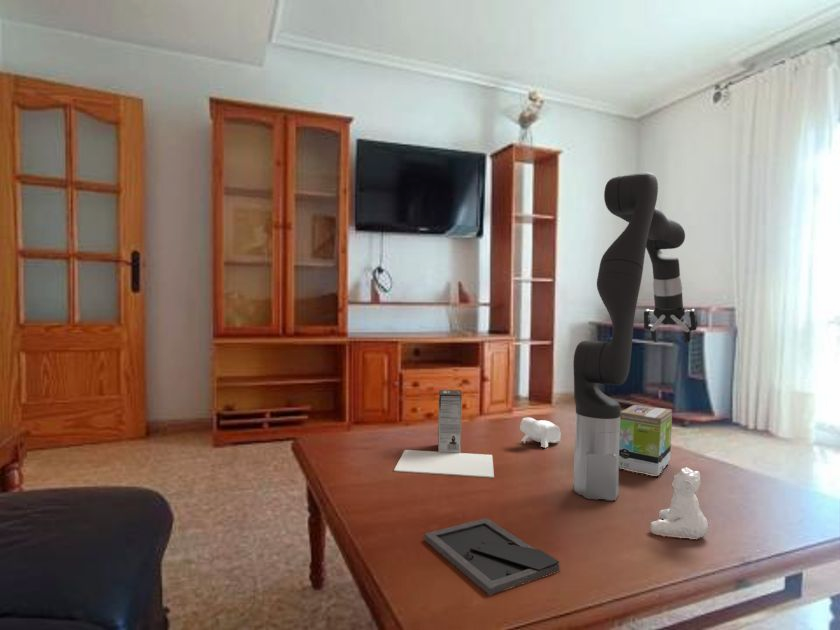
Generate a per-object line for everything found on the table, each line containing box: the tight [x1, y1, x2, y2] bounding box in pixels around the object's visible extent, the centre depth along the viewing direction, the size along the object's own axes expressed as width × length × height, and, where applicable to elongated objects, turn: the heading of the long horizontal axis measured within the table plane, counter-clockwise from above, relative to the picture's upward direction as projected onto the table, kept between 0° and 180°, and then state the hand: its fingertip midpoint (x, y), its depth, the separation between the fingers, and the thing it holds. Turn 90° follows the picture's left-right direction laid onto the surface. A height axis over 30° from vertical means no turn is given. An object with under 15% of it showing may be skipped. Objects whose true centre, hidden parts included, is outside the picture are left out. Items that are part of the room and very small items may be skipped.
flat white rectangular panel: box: [393, 449, 495, 479], centre depth 122 cm, size 17×24×1 cm
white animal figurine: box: [519, 417, 562, 448], centre depth 141 cm, size 9×8×15 cm
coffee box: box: [437, 389, 463, 453], centre depth 135 cm, size 9×6×16 cm
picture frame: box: [424, 517, 560, 596], centre depth 77 cm, size 13×2×18 cm
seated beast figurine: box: [650, 466, 709, 539], centre depth 86 cm, size 10×9×12 cm
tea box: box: [619, 404, 673, 476], centre depth 123 cm, size 15×10×15 cm
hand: (671, 341), depth 146 cm, fingers open, 8 cm apart
